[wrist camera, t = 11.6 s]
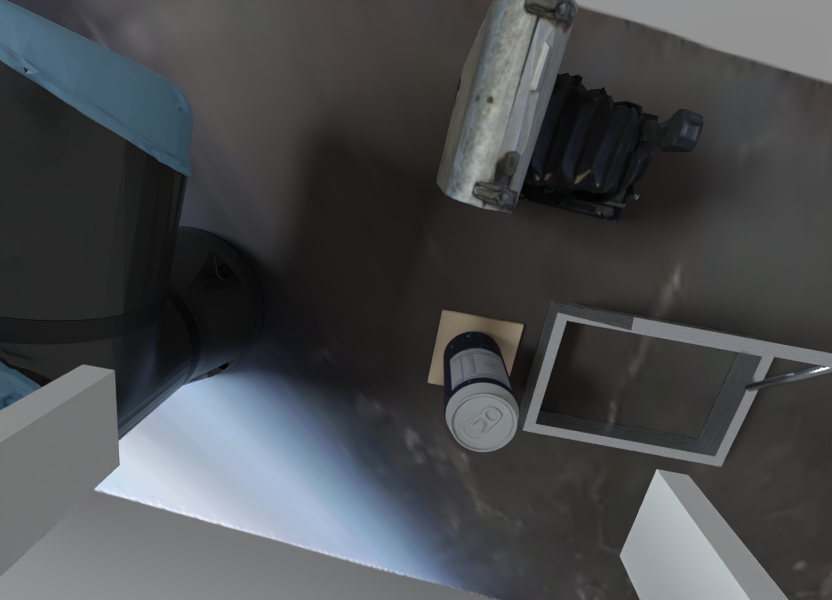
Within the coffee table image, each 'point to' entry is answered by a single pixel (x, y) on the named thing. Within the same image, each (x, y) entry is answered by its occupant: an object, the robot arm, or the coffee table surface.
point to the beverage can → (478, 393)
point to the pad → (460, 322)
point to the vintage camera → (546, 122)
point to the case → (743, 371)
